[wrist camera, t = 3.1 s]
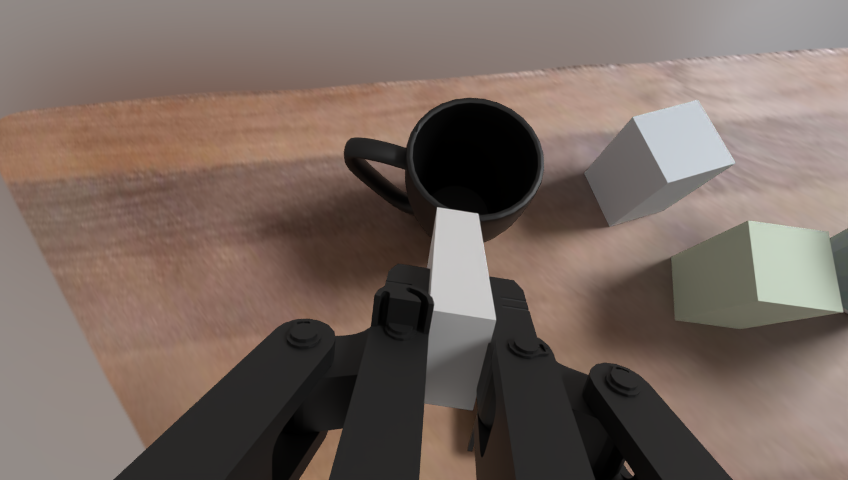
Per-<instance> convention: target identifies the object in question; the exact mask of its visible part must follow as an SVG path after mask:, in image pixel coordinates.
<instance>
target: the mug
mask: <svg viewBox="0 0 848 480" xmlns="http://www.w3.org/2000/svg"><path fill="white" fill-rule="evenodd" d="M365 159H367V160H372V161H376V162H381V163H385V164H388V165H392V166H395V167H398V168H401V169H404V170H405V183H406V189H407V193H406V192H404V191H402V190H400V189H399V188H397V187H396V186H394V185H393V184H392V183H390V182H389V181H388V180H387V179H386V178H384V177H383V176H382V175H381V174H380V173H379V172H378V171H376V170H375V169H374V168H373V167H372V166H371V165H370V164H369V163H368V162H367V161H366V160H365ZM344 160H345V163H346V165H347V167H348V168H349V170H350V171H351V172H352V173H353V174H354V175H355V176H356V177H358V178H359V179H360V180H361V181H362V182H364V183H365V184H366V185H367V186H368V187H370V188H371V189H372V190H373V191H375V192H376V193H377V194H378V195H380V196H381V197H382V198H384V199H385V200H386V201H387V202H389V203H390V204H392V205H393V206H394V207H396V208H398V209H399V210H401V211H403V212H406V213H408V214H412V215H415V217H416V219H417V221H418V222H419V223H420V225H421V226H422V228H423V229H424V230H425V231H426V233H427V234H428V235H429V236H430V237H431V238H432V235H433V229H434V223H435V217H436V211H437V207H439V208H445V209H452V210H458V211H464V212H471V213H477V214H479V220H480V226H481V232H482V238H483V243H484V242H487V241H489V240H491V239H493V238H495V237H496V236H498V235H499V234H501V233H502V232H503V231H505V230H506V229H508V228H509V227H510V226H511V225H512V224H513V223H514V222H515V221H516V220H517V219H518V217H519V216H520V215H521V214H522V213H523V211H524V210H525V209H526V207H527V206H528V204H529V203H530V202H531V200H532V199H533V197H534V196H535V194H536V192H537V190H538V188H539V186H540V184H541V181H542V176H543V172H544V157H543V151H542V148H541V144H540V141H539V139H538V137H537V136H536V134H535V132H534V130H533V129H532V127H531V126H530V125H529V124H528V123H527V122H526V121H525V120H524V118H522V117H521V116H520V115H518V114H517V113H516V112H514V111H513V110H512V109H510V108H508V107H506V106H504V105H502V104H500V103H497V102H493V101H490V100H486V99H478V98H463V99H455V100H452V101H449V102H446V103H442V104H440V105H439V106H437V107H435V108H433V109H432V110H430V111H429V112H428V113H427V114H425V115H424V116H423V117H422V118H421V119H420V120H419V121H418V123H417V124H416V126H415V127H414V129H413V130H412V132H411V134H410V137H409V140H408V143H407V147H406V148H404V147H401V146H398V145H395V144H391V143H387V142H383V141H379V140H374V139H369V138H351V139H350V140H348V141H347V143H346V145H345V149H344Z"/></svg>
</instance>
